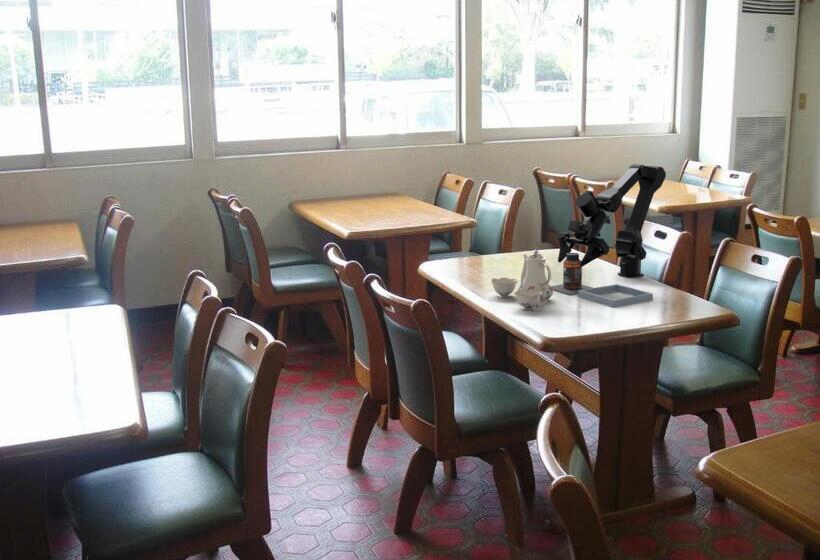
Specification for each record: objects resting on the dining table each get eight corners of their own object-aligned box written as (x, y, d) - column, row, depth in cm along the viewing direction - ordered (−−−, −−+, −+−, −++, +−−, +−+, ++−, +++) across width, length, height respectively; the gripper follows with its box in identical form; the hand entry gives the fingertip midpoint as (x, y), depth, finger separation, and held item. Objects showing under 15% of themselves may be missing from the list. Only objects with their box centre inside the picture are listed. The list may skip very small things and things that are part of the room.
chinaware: (482, 299, 286) (477, 249, 281) (527, 289, 292) (523, 239, 288) (527, 320, 261) (523, 265, 256) (576, 308, 267) (572, 254, 262)
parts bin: (616, 290, 288) (616, 284, 288) (652, 300, 274) (652, 293, 274) (578, 296, 280) (578, 290, 280) (613, 307, 267) (613, 300, 266)
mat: (574, 283, 298) (574, 282, 298) (598, 290, 288) (598, 289, 288) (545, 288, 293) (545, 286, 293) (569, 295, 283) (569, 293, 282)
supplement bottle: (584, 287, 291) (585, 252, 289) (577, 290, 286) (577, 256, 284) (567, 285, 294) (568, 251, 292) (559, 288, 290) (560, 254, 287)
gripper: (559, 207, 294) (536, 245, 290) (604, 213, 280) (581, 252, 276) (574, 228, 301) (552, 265, 297) (619, 235, 287) (596, 274, 283)
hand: (569, 264), depth 288 cm, fingers open, 9 cm apart
